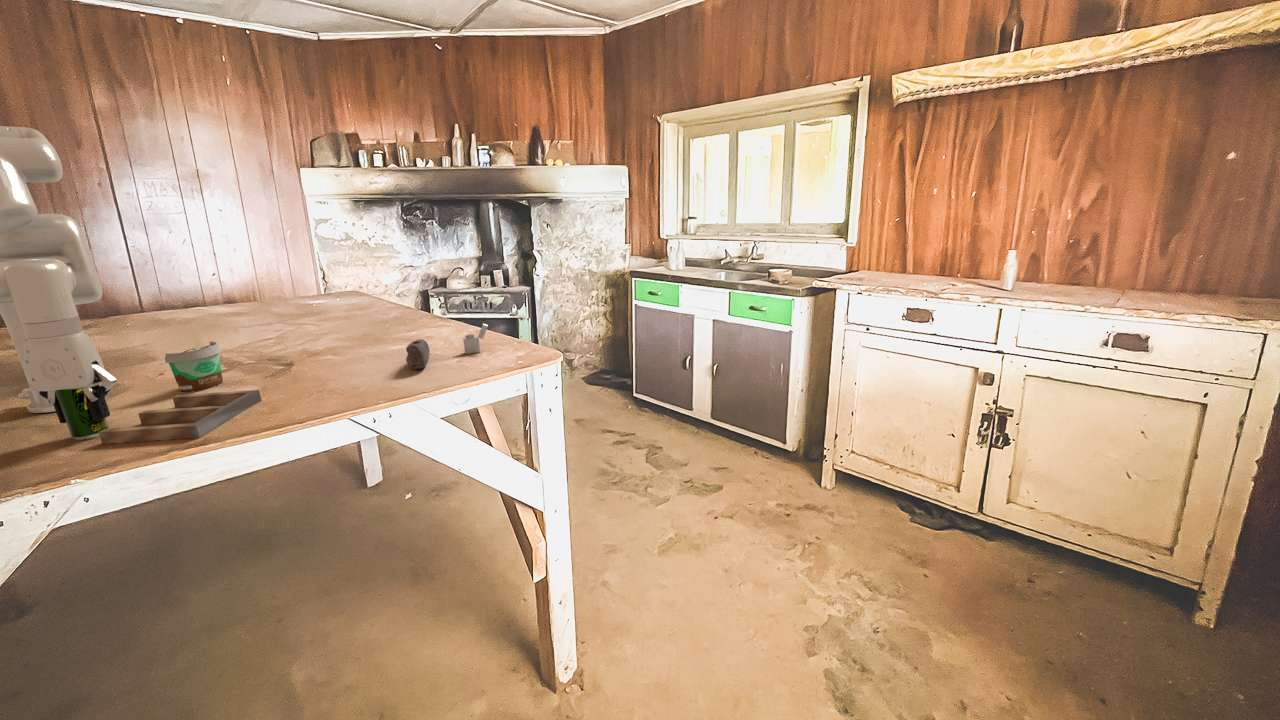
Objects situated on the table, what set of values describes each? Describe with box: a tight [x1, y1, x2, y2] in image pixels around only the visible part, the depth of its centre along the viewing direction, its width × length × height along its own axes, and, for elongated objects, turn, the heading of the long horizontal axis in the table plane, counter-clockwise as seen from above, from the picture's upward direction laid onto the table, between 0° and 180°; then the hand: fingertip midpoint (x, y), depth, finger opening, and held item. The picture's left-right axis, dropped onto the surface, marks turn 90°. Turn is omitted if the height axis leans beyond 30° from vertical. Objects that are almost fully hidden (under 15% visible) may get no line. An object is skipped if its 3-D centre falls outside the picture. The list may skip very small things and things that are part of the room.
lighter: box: [462, 322, 489, 355], centre depth 157 cm, size 7×2×8 cm, turn 106°
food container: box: [164, 341, 224, 393], centre depth 135 cm, size 12×6×10 cm, turn 168°
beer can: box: [55, 387, 109, 441], centre depth 107 cm, size 5×5×12 cm
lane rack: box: [98, 389, 262, 445], centre depth 114 cm, size 18×20×2 cm
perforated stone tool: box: [405, 338, 430, 370], centre depth 147 cm, size 15×5×7 cm, turn 11°
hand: (85, 418), depth 108 cm, fingers closed on beer can, 5 cm apart
